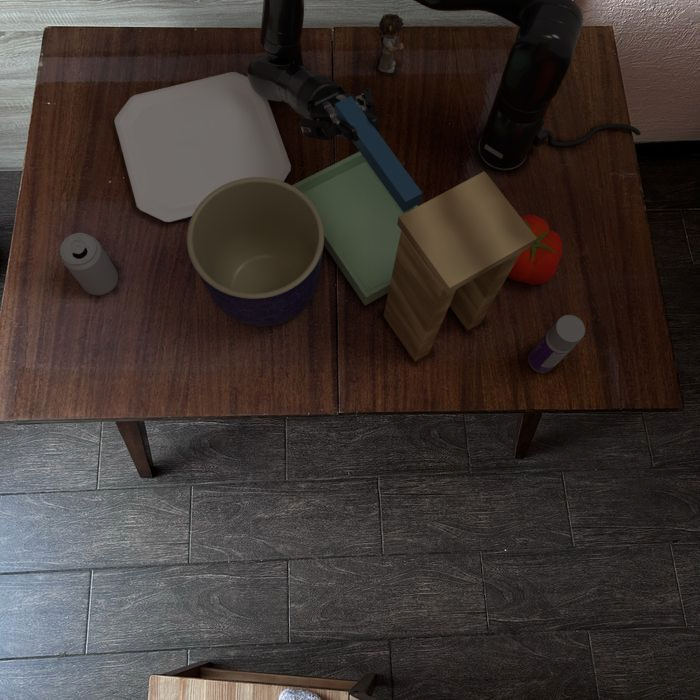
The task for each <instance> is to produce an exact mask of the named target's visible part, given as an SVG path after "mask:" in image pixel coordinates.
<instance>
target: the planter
mask: <svg viewBox="0 0 700 700" xmlns="http://www.w3.org/2000/svg"><path fill="white" fill-rule="evenodd" d="M292 185H293V184H292ZM292 185H291V184H290V183H287V182H285V181H284V182H282V181H279V180H276V179H271V178H263V177H251V178H244V179H239V180H235V181H232V182H229V183H227V184H225V185H223V186H221V187H219V188H217V189H216V190H214V191H213V192H211V193H210V194H209V195H208V196H207V197H206V198H204V200H203V201H202V202H201V203H200V204H199V206H198V207H197V208H196V210H195V212H194V213H193V215H192V217H190V220H189V223H188V226H187V230H186V231H187V232H186V248H187V254H188V257H189V259H190V262H191V264H192V266H193V268H194V270H195V271H196V273H197V275H198V276H199V278H200V280H201V282H202V283H203V286H204V287H205V288H206V291H207V292H208V294H209V296H210V297H211V300H212V301H213V302H214V303H215V304H216V306H217V307H218V308H219V309H220V310H221V311H222V312H223V313H224V314H226V315H227V316H228V317H229V318H231V319H233V320H235V321H237V322H238V323H241V324H243V325H247V326H251V327H257V328H258V327H259V328H268V327H274V326H275V327H276V326H278V325H281V324H284V323H287V322H288V321H290V320H292V319H294V318H295V317H297V316H298V315H299V314H301V313H302V312H303V311H304V310H305V309H306V307H307V306H308V305H309V303H310V302H311V301H312V299H313V297H314V295H315V293H316V291H317V288H318V284H319V280H320V275H321V269H322V268H321V267H322V260H323V255H324V254H323V252H324V247H325V246H324V227H323V223H322V220H321V217H320V214H319V212H318V210H317V209H316V207H315V206H314V204H313V203H312V202H311V200H310V199H309V198H308V197H307V196H306V195H305V194H304V193H302V192H301V191H300V190H298V189H297V188H295V187H293V186H292Z"/></svg>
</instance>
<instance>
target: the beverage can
mask: <svg viewBox="0 0 700 700" xmlns="http://www.w3.org/2000/svg"><path fill="white" fill-rule="evenodd" d="M59 251H60V259H61V261H62V263H63V265H64V266H65V267H66V268H67V269H68V271H69V272H70V273H71V275H72V276H73V277H74V279H75V280H76V281H77V282H78V283H79V285H80V286H81V288H82V289H83V290H84V291H85V292H86V293H87V294H89V295H93V296H104V295H107V294H108V293H110V292H112V291H113V290H114V289H115V287H116V286H117V285H118V283H119V273H118V271H117V268H116V267H115V265H114V264H113V262H112V261H111V259H110V257H109V256H108V255H107V253H106V251H105V250H104V249H103V247H102V245H101V243H100V242H99V241H98V240H97V239H96V238H95V237H94V236H92V235H90V234H88V233H84V232H76V233H73V234H70V235H68V236H67V237H66V238H64V240H63V241H62V242H61V244H60V248H59Z"/></svg>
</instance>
